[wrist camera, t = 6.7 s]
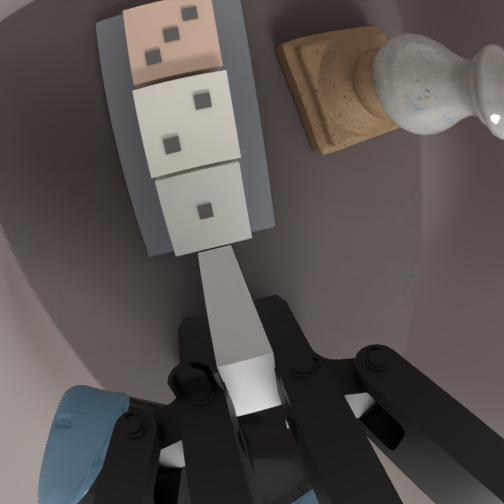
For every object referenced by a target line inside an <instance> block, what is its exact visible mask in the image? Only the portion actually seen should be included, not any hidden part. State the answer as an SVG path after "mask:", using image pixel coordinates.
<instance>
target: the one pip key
mask: <svg viewBox="0 0 504 504" xmlns="http://www.w3.org/2000/svg"><path fill="white" fill-rule="evenodd" d="M155 184H156V188H157V192H158V196H159V200H160V203H161V207H162V211H163V214H164V218H165V221H166V225H167V228H168V232H169V235H170V239H171V242H172V246H173V249H174V252H175V255H176V256H180V255H184V254H189V253H193V252H197V251H201V250H205V249H209V248H213V247H217V246H221V245H225V244H230V243H234V242H238V241H242V240H246V239H250V238H252V236H251V230H250V224H249V218H248V212H247V206H246V200H245V194H244V188H243V182H242V176H241V170H240V164H239V161H237V160H236V159H231V160H226V161H222V162H217V163H212V164H208V165H203V166H199V167H195V168H190V169H186V170H182V171H178V172H174V173H170V174H166V175H162V176H158V177H156V180H155Z"/></svg>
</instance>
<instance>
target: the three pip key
mask: <svg viewBox="0 0 504 504" xmlns="http://www.w3.org/2000/svg"><path fill="white" fill-rule="evenodd" d="M123 17H124V25H125V33H126V40H127V47H128V54H129V60H130V66H131V72H132V78H133V84H134V86H136V87H138V88H144V87H148V86H151V85H155V84H159V83H163V82H167V81H172V80H176V79H181V78H185V77H190V76H195V75H200V74H206V73H212V72H218V71H219V69H220V68H221V67H222V66H223V64H222V58H221V52H220V47H219V41H218V35H217V29H216V23H215V17H214V12H213V6H212V0H163V1H158V2H154V3H150V4H146V5H142V6H138V7H134V8H131V9H127V10H124V11H123Z"/></svg>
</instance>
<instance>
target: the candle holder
mask: <svg viewBox="0 0 504 504" xmlns="http://www.w3.org/2000/svg"><path fill="white" fill-rule="evenodd" d="M276 54H277V56H278V59H279V62H280V65H281V67H282V70H283V72H284V75H285V77H286V80H287V83H288V85H289V88H290V90H291V93H292V96H293V98H294V101H295V104H296V106H297V109H298V112H299V115H300V117H301V120H302V123H303V126H304V129H305V132H306V135H307V137H308V140H309V142H310V145H311V147H312V149H313V151H314V152H316V153H319V154H328V153H331V152H334V151H338V150H340V149H343V148H346V147H348V146H351V145H354V144H356V143H359V142H362V141H364V140H367V139H370V138H372V137H375V136H378V135H381V134H383V133H386V132H389V131H392V130H395V129H397V128H399V127H401V128H402V129H404V130H406V131H408V132H411V133H414V134H418V135H432V134H436V133H440V132H442V131H444V130H447V129H448V128H450V127H451V126H453V125H454V124H456V123H457V122H459V121H460V120H461V119H463V118H465V117H468V116H471V115H474V116H477V117H478V118H480V120H481V121H482V122H483V123H484V124H485V125H486V126H488V128H489V129H490V131H491V132H492V133H493V134H494V135H495V136H496V137H498V138H500V139H502V140H504V48H502V47H500V46H498V45H494V44H491V45H487V46H485V47H484V48H483V49H482V50H481V52H480V53H478V54H477V55H475V57H474V58H473V59H470V60H466V59H463V58H461V57H459V56H457V55H456V54H454V53H453V52H451V51H450V50H448V49H447V48H446V47H444V46H443V45H441V44H440V43H438V42H436V41H434V40H432V39H430V38H428V37H425V36H422V35H418V34H400V35H396V36H394V37H391V38H390V39H387V37H386V35H385V34H384V32H381V31H380V29H379V28H378V27H376V26H370V27H357V28H350V29H343V30H336V31H331V32H325V33H320V34H315V35H310V36H305V37H300V38H297V39H294V40H291V41H287V42H284V43H282V44H281V45H279V46H277V47H276Z"/></svg>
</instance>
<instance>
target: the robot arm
mask: <svg viewBox="0 0 504 504" xmlns="http://www.w3.org/2000/svg"><path fill="white" fill-rule="evenodd" d="M198 258H199V265H200V271H201V278H202V284H203V291H204V297H205V303H206V309H207V314H203V315H199V316H195V317H191V318H186V319H183V321H182V323H181V325H180V327H179V329H178V336H179V350H180V351H179V353H180V364H179V365H177V366H176V367H175V368H173V370H172V371H171V373H170V374H169V377H168V382H167V383H168V385H169V386H170V388H171V390H172V391H173V393H174V395H175V396H176V399H175V400H174V401H173V402H172V403H170V404H169V405H166V404H161V403H156V402H151V401H147V400H143V399H138V398H134V397H130V396H129V395H128V394H127V393H124V392H117V393H114V392H110V391H105V390H101V389H97V388H93V387H90V386H86V385H77V386H73V387H71V388H69V389H68V390H67V391H66V392H65V393H64V395H63V396H62V398H61V401H60V403H59V405H58V408H57V411H56V414H55V416H54V420H53V423H52V426H51V429H50V433H49V437H48V440H47V444H46V448H45V452H44V456H43V461H42V466H41V472H40V478H39V485H38V502H39V503H40V504H403V503H402V501H401V499H400V497H399V495H398V493H397V491H396V490H395V488H394V486H393V484H392V482H391V480H390V479H389V477H388V475H387V473H386V471H385V469H384V467H383V465H382V464H381V462H380V460H379V458H378V456H377V454H376V453H375V451H374V449H373V447H372V445H371V443H370V442H369V440H368V438H369V439H370V440H371V441H372V442H373V443H374V444H375V445H376V446H377V447H378V448H379V449H380V450H381V451H382V452H383V453H384V454H385V455H386V456H387V457H388V458H389V459H390V460H391V461H392V462H393V463H394V464H395V465H396V466H397V467H398V468H399V469H400V470H401V471H402V472H403V473H404V474H405V475H406V476H407V477H408V478H409V479H410V480H411V481H412V482H413V483H414V484H415V485H416V486H418V488H420V489H421V490H422V491H423V492H424V493H425V494H426V495H427V496H428V497H429V498H430V499H431V500H432V501H433V502H434V503H435V504H504V439H503V438H502V437H501V436H499V435H498V434H497V433H496V432H495V431H493V430H492V429H491V428H490V427H489V426H487V425H486V424H485V423H484V422H482V421H481V420H480V419H479V418H478V417H476V416H475V415H474V414H473V413H471V412H470V411H469V410H468V409H467V408H465V407H464V406H463V405H462V404H460V403H459V402H458V401H457V400H455V399H454V398H453V397H452V396H450V395H449V394H448V393H447V392H445V391H444V390H443V389H442V388H441V387H439V386H438V385H437V384H436V383H434V382H433V381H432V380H431V379H429V378H428V377H427V376H426V375H424V374H423V373H422V372H420V371H419V370H418V369H417V368H416V367H414V366H413V365H411V364H410V363H409V362H408V361H407V360H405V359H404V358H403V357H402V356H400V355H399V354H398V353H397V352H395V351H394V350H393V349H391V348H389V347H387V346H384V345H379V344H376V345H369V346H367V347H364V348H362V349H361V350H360V351H359V352H358V353H357V355H356V357H355V358H351V359H340V360H333V359H327V358H324V357H322V356H320V355H318V354H317V353H315V352H314V351H313V349H312V348H311V346H310V345H309V343H308V341H307V339H306V337H305V335H304V334H303V332H302V330H301V328H300V326H299V324H298V323H297V321H296V320H295V317H294V315H293V313H292V312H291V310H290V308H289V306H288V304H287V302H286V301H285V300H283V299H282V298H280V297H279V296H277V295H274V296H270V297H266V298H262V299H259V300H255V301H252V298H251V296H250V293H249V291H248V288H247V285H246V283H245V280H244V278H243V275H242V273H241V270H240V267H239V265H238V262H237V260H236V257H235V255H234V252H233V249H232V247H231V245H229V246H225V247H221V248H217V249H213V250H209V251H205V252H201V253H198ZM367 437H368V438H367Z"/></svg>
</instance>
